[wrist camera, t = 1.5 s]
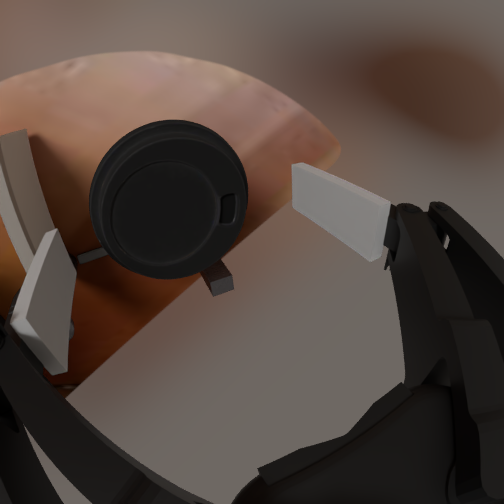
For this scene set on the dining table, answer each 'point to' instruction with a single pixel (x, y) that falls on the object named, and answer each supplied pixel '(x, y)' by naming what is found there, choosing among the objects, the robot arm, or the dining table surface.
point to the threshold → (91, 255)
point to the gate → (22, 197)
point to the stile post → (218, 278)
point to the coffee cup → (168, 199)
